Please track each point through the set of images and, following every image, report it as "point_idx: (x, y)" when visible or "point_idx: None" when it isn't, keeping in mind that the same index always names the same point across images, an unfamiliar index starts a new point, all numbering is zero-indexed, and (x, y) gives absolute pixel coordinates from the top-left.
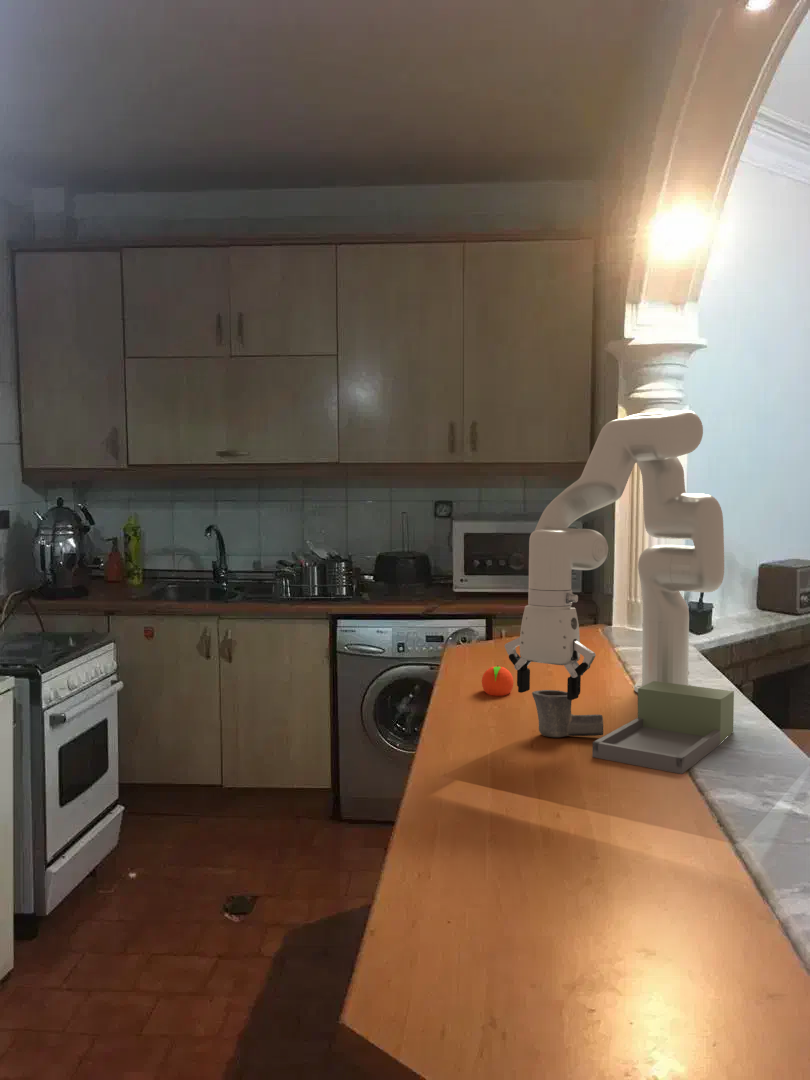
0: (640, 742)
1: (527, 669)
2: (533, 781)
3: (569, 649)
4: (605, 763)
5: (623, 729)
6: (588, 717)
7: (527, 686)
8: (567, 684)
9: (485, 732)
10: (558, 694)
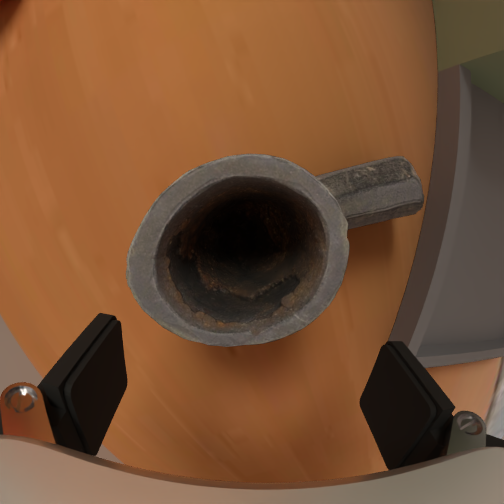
0: (476, 234)
1: (67, 408)
2: (304, 472)
3: None
4: None
5: (460, 212)
6: (381, 213)
7: (114, 351)
8: (379, 448)
9: (71, 282)
10: (247, 184)
